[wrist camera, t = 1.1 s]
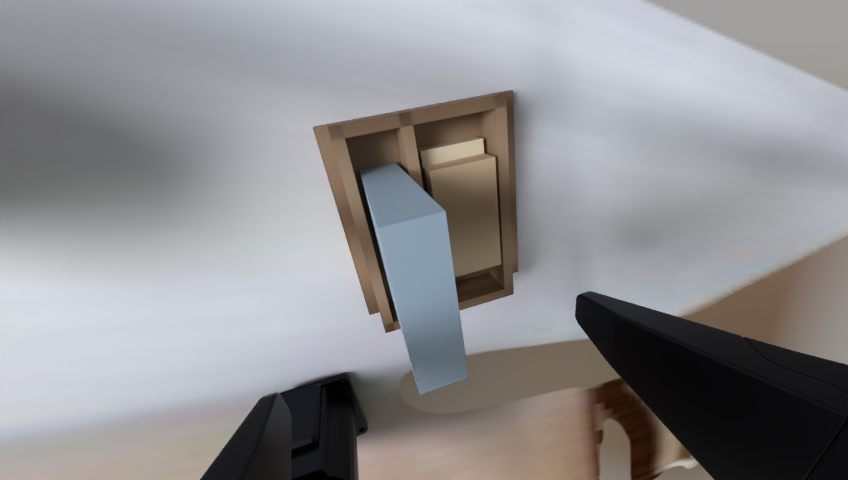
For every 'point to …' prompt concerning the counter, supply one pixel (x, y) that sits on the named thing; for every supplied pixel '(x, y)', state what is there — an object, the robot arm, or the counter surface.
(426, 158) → the offcut lower
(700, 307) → the counter surface
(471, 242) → the offcut upper
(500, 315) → the counter surface
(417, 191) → the board
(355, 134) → the rack
